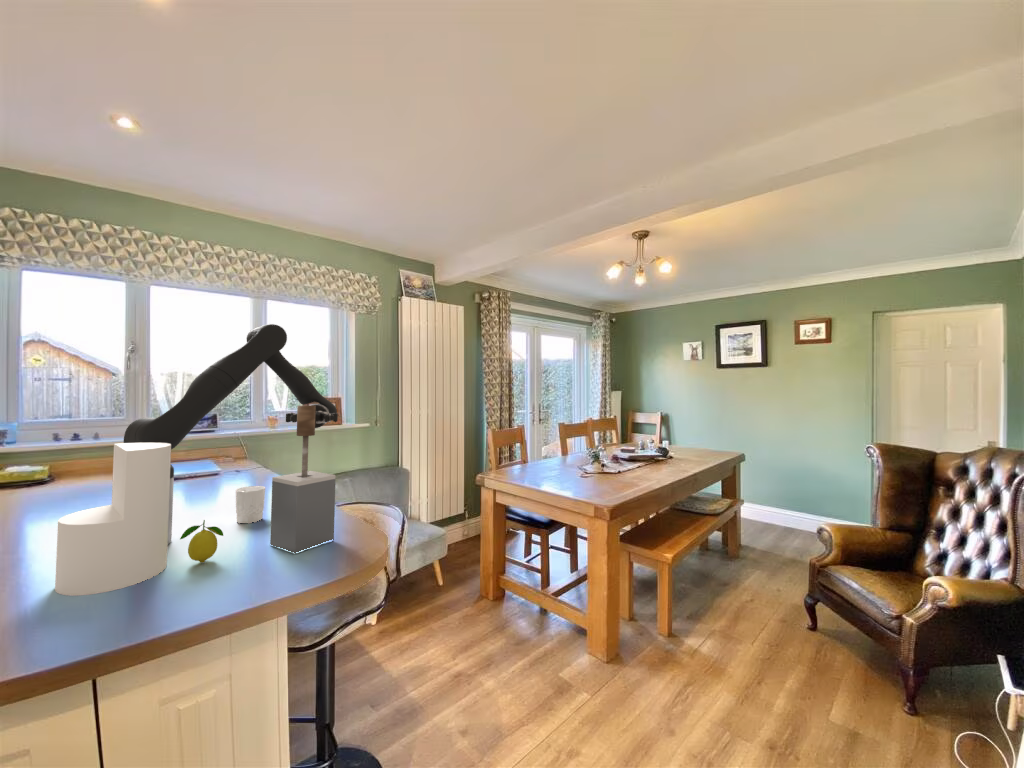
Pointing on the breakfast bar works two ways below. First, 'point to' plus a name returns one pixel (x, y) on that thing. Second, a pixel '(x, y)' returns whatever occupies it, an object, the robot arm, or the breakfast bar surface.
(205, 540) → the lemon
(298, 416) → the plunger
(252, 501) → the white cup
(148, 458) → the white stepped oval block
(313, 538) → the grey upright block
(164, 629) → the breakfast bar surface
